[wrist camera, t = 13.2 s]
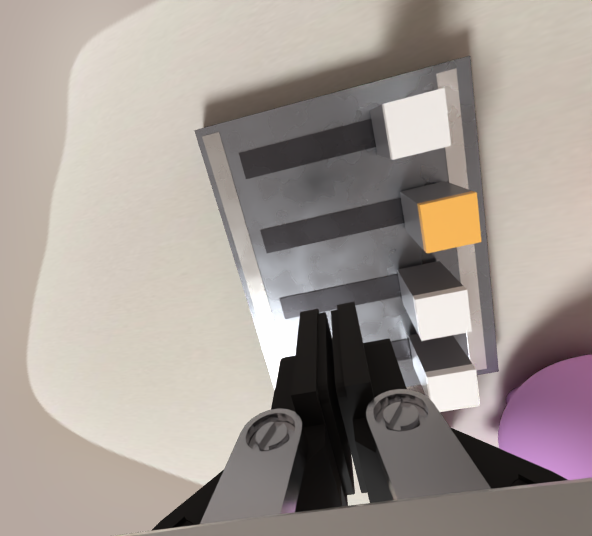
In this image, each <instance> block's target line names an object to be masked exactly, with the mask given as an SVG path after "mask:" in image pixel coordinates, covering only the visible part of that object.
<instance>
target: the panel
mask: <svg viewBox="0 0 592 536" xmlns="http://www.w3.org/2000/svg"><path fill="white" fill-rule="evenodd" d="M442 88H445V95H446V104H447V113H448V122H449V131H450V140H451V146H448V147H444V148H439V149H435V150H431V151H427V152H423V153H419V154H415V155H411V156H407V157H403V158H398V159H394V160H392V159H388V158H385V157H382V156H379V155H377V149H376V143H375V137H374V131H373V125H372V120H371V114H370V110H372V109H374V108H376V107H378V106H380V105H382V104H385V103H388V102H392V101H396V100H400V99H404V98H407V97H411V96H415V95H419V94H423V93H426V92H430V91H434V90H438V89H442ZM194 131H195V134H196V137H197V140H198V143H199V147H200V150H201V153H202V156H203V160H204V163H205V166H206V169H207V173H208V176H209V179H210V182H211V185H212V189H213V192H214V195H215V198H216V202H217V205H218V208H219V211H220V215H221V218H222V221H223V224H224V227H225V231H226V234H227V237H228V240H229V244H230V247H231V250H232V253H233V257H234V260H235V263H236V266H237V270H238V273H239V276H240V279H241V282H242V286H243V289H244V292H245V295H246V299H247V302H248V305H249V308H250V312H251V315H252V318H253V321H254V324H255V328H256V331H257V334H258V337H259V341H260V344H261V347H262V350H263V354H264V357H265V360H266V363H267V366H268V370H269V373H270V376H271V379H272V383H273V386H274V389H275V385H276V380H277V374H278V369H279V363H280V359H281V358H282V357H288V356H294V355H295V353H296V345H297V336H298V327H299V318H300V312H303V311H308V310H313V309H318V310H319V313H322V312H326V315H327V318H328V323H329V327H330V331H331V335H332V322H331V311H333V310H337V305H339V304H344V303H349V302H355V306H356V311H357V316H358V320H359V325H360V330H361V335H362V339H363V343H366V342H371V341H377V340H382V339H388V338H389V339H390V341H391V344H392V347H393V350H394V353H395V356H396V358H397V361H398V364H399V367H400V370H401V373H402V376H403V379H404V382H405V385H406V387H409V386H415V385H421V383H420V381H419V378H418V376H417V373H416V371H415V369H414V366H413V360H412V354H411V348H410V342H409V335H414V334H418V333H417V331H416V329H415V327H414V325H413V323H412V321H411V319H410V317H409V315H408V313H407V311H406V309H405V307H404V305H403V301H402V295H401V290H400V284H399V278H398V272H397V270H398V269H403V268H408V267H412V266H417V265H422V264H427V263H432V262H437V261H440V262H441V263H442V264H443V265H444V266H445V267H446V268H447V269H448V270H449V271H450V272H451V274H452V275H453V276H454V277H455V278H456V279H457V280H458V281H459V282H460V283H461V284H462V285H463V286H464V287H465V288H466V289H467V292H468V301H469V310H470V319H471V328H472V332H468V333H462V334H457V335H453V336H454V338H455V339H456V340H457V342H458V343H459V345H460V346H461V348H462V349H463V351H464V352H465V354H466V355H467V357H468V358H469V360H470V361H471V363H472V364H473V366H474V367H475V368H476V373H477V375H480V374H486V373H492V372H498V371H499V369H498V358H497V347H496V336H495V325H494V314H493V303H492V292H491V281H490V270H489V259H488V248H487V237H486V226H485V215H484V204H483V192H482V181H481V170H480V159H479V148H478V137H477V126H476V115H475V104H474V93H473V82H472V71H471V60H470V56H467V57H463V58H460V59H456V60H452V61H449V62H445V63H441V64H438V65H434V66H430V67H426V68H423V69H419V70H415V71H412V72H408V73H404V74H401V75H397V76H393V77H390V78H386V79H382V80H379V81H375V82H371V83H368V84H364V85H360V86H356V87H353V88H349V89H345V90H342V91H338V92H334V93H331V94H327V95H323V96H320V97H316V98H312V99H309V100H305V101H301V102H297V103H294V104H290V105H286V106H283V107H279V108H275V109H272V110H268V111H264V112H261V113H257V114H253V115H250V116H246V117H242V118H239V119H235V120H231V121H227V122H224V123H220V124H216V125H213V126H209V127H205V128H202V129H198V130H194ZM443 181H446V182H449V183H452V184H454V185H457V186H460V187H463V188H466V189H469V190H471V191H474V192H477V200H478V210H479V221H480V231H481V242H479V243H474V244H470V245H465V246H460V247H455V248H451V249H446V250H441V251H436V252H431V253H426V252H425V251H424V250H423V249H422V248H421V247H420V246H419V245H418V243H417V242H416V241H415V240H414V239H413V238H412V237H411V236H410V235H409V234H408V233H407V232H406V228H405V222H404V215H403V209H402V203H401V196H400V191H405V190H409V189H413V188H417V187H422V186H426V185H430V184H435V183H439V182H443Z"/></svg>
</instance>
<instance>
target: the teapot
mask: <svg viewBox="0 0 592 536" xmlns="http://www.w3.org/2000/svg"><path fill="white" fill-rule="evenodd" d="M506 401H507V406H506V408H505V410H504V412H503V415H502V418H501V421H500V424H499V430H498V443H499V449H502V450H504V451H506V452H508V453H511V454H513V455H515V456H518V457H520V458H522V459H525V460H527V461H529V462H532V463H534V464H536V465H539V466H541V467H543V468H546V469H548V470H550V471H553V472H555V473H556V474H558V475H560V476H562V477H564V478H565V479H567V480H574V479H582V478H591V477H592V354H586V355H582V356H579V357H575V358H570V359H567V360H563V361H560V362H557V363H554V364H552V365H550V366H548V367H546V368H544V369H542V370H540V371H538V372H537V373H535V374H534V375H533V376H531V377H530V378H528V379H527V380H526V381H525V382H524V383H523V384H522V385H521V386H520V387H518V388H515V389H513V390H512V391H510V392H509V394H508V395H507V399H506Z"/></svg>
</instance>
